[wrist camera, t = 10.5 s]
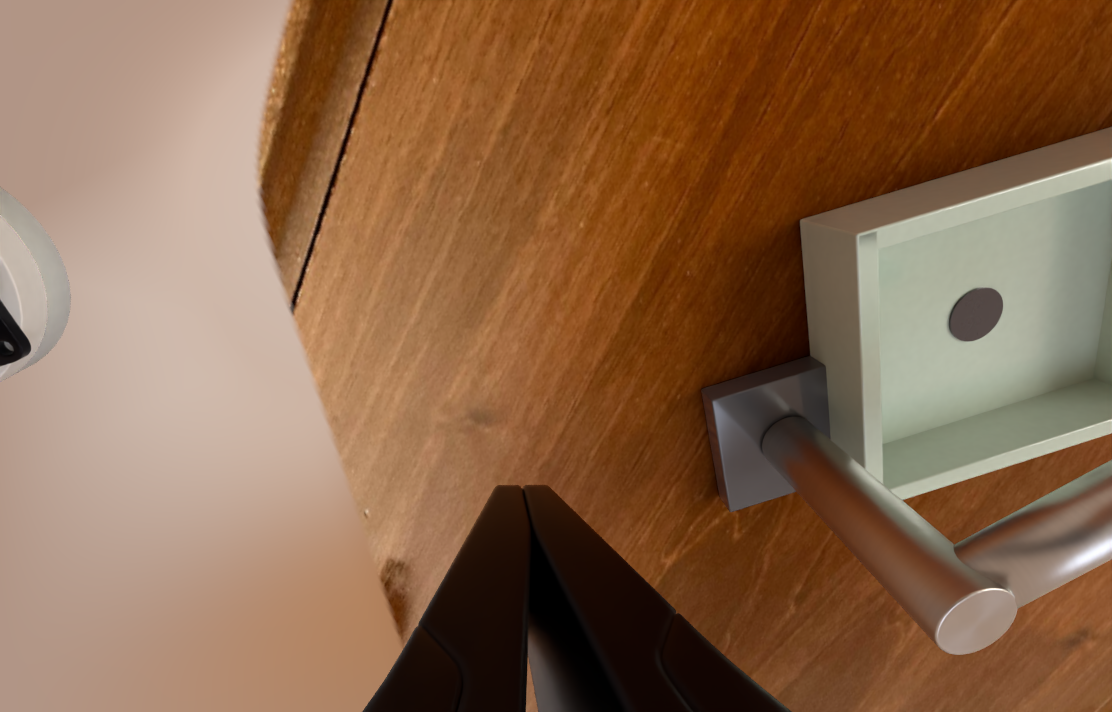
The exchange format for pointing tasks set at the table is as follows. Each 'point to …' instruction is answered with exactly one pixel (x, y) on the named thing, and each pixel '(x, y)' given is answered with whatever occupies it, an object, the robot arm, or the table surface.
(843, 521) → the faucet
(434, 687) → the robot arm
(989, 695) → the table surface
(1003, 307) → the sink
